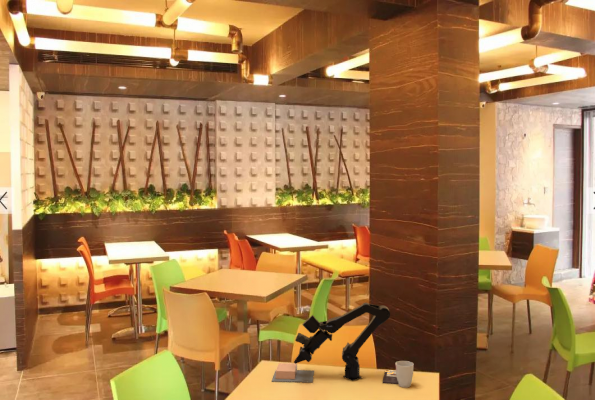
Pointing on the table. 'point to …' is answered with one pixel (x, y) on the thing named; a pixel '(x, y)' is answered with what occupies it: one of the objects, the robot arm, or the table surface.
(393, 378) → the chocolate bar
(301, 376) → the mat
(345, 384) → the table surface
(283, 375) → the salmon pink block
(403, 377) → the cup
